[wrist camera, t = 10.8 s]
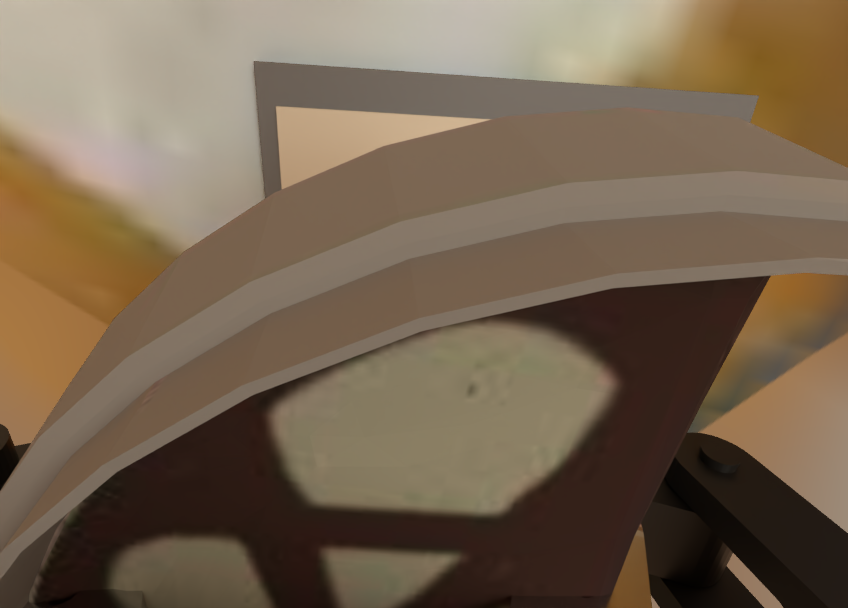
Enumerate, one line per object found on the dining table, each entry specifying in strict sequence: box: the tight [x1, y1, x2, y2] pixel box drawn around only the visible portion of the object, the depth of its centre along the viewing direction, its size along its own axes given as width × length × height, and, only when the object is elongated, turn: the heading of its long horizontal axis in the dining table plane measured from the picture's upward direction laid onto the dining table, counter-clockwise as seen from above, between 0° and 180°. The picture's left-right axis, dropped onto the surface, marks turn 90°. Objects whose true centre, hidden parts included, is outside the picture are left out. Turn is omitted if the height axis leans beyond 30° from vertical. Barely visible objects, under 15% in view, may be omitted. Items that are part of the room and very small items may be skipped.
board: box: [254, 61, 759, 199], centre depth 21 cm, size 13×20×1 cm, turn 87°
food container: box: [0, 107, 848, 608], centre depth 9 cm, size 12×6×10 cm, turn 170°
